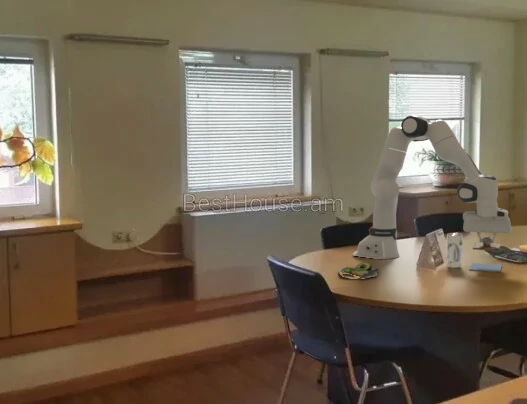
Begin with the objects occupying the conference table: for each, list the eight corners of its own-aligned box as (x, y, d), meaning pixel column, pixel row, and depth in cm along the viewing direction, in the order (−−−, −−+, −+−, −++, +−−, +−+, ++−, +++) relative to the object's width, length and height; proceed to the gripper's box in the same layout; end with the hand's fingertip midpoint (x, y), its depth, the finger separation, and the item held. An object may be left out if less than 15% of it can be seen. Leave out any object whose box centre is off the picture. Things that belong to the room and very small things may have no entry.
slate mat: (469, 270, 297) (469, 269, 297) (472, 264, 309) (472, 262, 308) (500, 272, 292) (500, 271, 292) (502, 265, 303) (502, 264, 303)
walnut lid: (472, 249, 296) (472, 238, 295) (475, 244, 306) (475, 234, 306) (499, 250, 292) (499, 239, 291) (500, 245, 302) (500, 235, 301)
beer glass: (463, 268, 300) (463, 235, 298) (447, 268, 302) (447, 235, 300) (461, 265, 307) (462, 232, 305) (446, 264, 308) (446, 232, 307)
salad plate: (381, 281, 281) (381, 271, 281) (339, 282, 283) (338, 271, 282) (378, 271, 300) (378, 261, 300) (338, 271, 302) (338, 261, 301)
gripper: (462, 211, 298) (461, 242, 300) (511, 213, 290) (510, 244, 292) (463, 209, 304) (463, 239, 306) (511, 211, 296) (511, 241, 298)
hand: (486, 242), depth 299 cm, fingers closed on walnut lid, 3 cm apart
